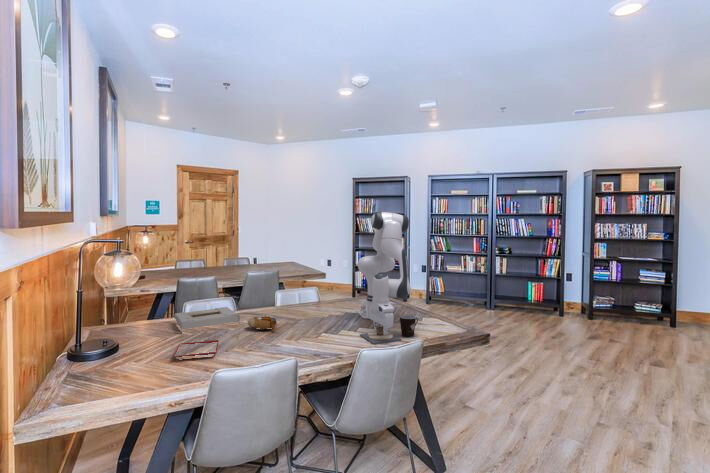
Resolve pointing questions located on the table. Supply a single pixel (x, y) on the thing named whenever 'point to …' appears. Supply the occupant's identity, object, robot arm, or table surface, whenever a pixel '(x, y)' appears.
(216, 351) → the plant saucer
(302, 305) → the table surface
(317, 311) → the table surface
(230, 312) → the box
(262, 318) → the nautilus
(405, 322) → the coffee mug
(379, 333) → the lid
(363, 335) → the mat
